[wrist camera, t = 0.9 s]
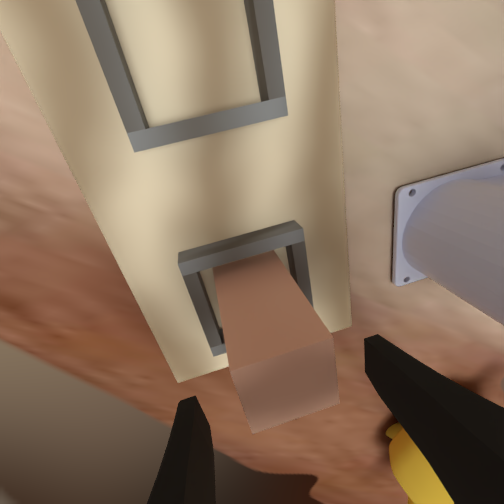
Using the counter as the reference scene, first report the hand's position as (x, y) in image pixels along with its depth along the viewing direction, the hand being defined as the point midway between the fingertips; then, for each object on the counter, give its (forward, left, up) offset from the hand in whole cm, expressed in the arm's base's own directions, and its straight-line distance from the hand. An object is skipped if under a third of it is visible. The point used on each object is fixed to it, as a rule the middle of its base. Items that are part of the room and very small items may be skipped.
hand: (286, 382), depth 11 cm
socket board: (0, -6, -9) cm, 11 cm away
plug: (0, 0, -8) cm, 8 cm away
